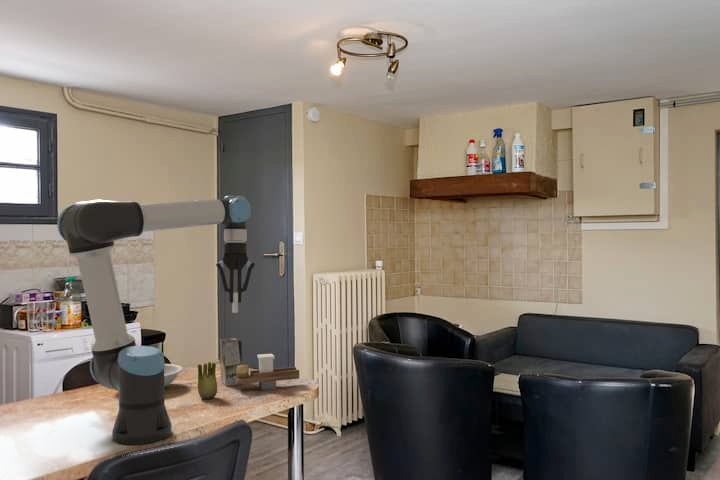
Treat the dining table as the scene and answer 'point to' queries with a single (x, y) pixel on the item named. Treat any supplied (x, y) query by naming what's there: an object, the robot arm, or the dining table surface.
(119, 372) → the robot arm
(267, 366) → the white rounded block
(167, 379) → the soup bowl
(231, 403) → the dining table surface
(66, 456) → the dining table surface
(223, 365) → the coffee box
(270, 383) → the beam
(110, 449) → the dining table surface
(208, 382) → the fennel bulb
